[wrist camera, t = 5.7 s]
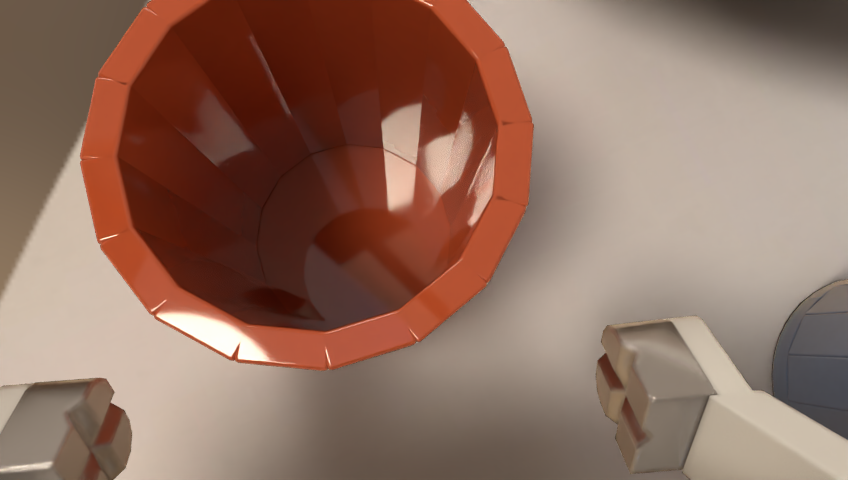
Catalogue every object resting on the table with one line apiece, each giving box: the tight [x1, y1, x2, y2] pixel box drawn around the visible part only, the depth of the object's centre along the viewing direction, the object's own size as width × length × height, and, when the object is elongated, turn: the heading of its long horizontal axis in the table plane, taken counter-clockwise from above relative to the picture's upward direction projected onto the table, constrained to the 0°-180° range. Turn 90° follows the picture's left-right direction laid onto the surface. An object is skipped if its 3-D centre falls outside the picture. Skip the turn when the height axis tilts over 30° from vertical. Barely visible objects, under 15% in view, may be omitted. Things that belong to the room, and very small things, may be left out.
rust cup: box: [80, 0, 534, 371], centre depth 14 cm, size 7×7×10 cm
